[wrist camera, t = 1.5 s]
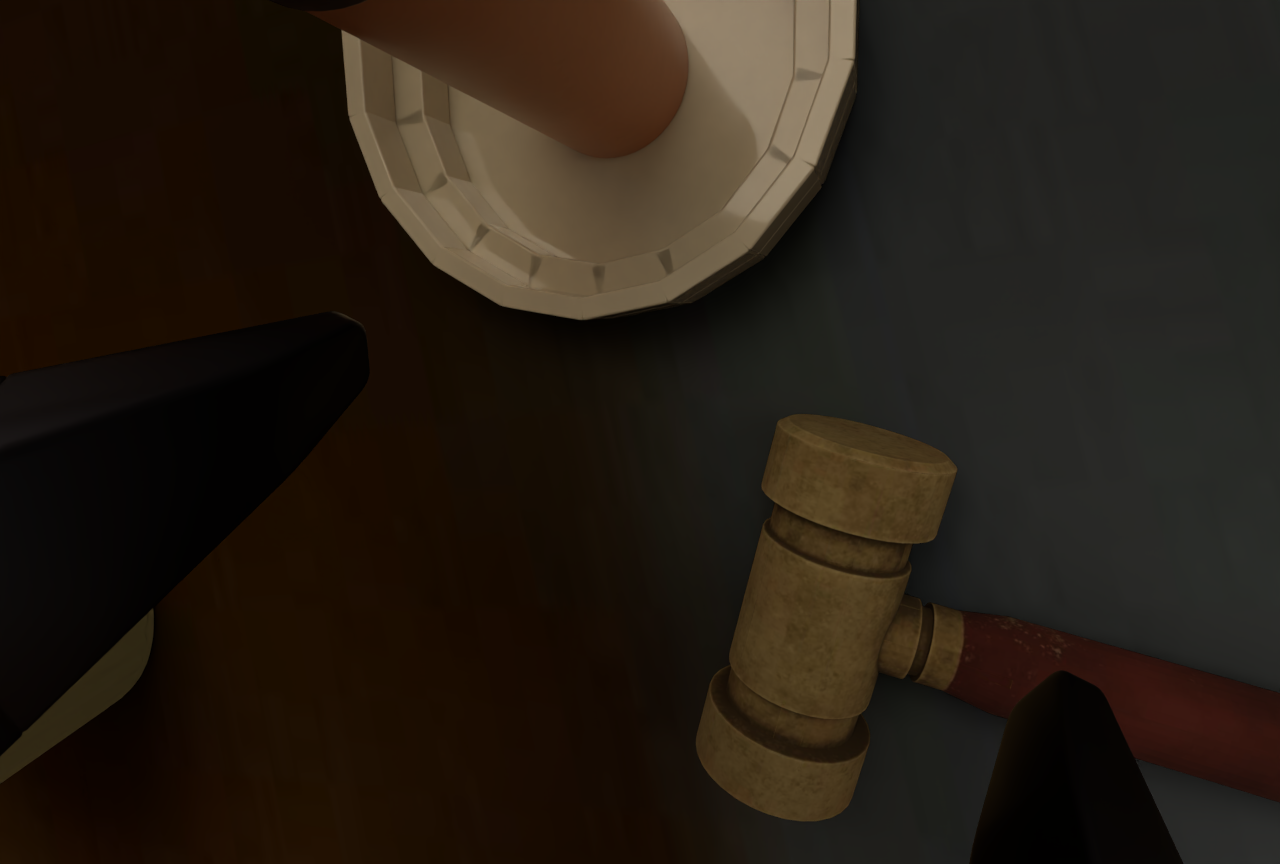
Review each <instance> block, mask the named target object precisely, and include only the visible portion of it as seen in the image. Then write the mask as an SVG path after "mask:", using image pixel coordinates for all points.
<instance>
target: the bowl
mask: <svg viewBox="0 0 1280 864" xmlns="http://www.w3.org/2000/svg"><path fill="white" fill-rule="evenodd" d="M664 2H665V3H666V5H667V6H668V8H669V9H670V10H671V12H672V13H673V15H674V16H675V18H676V20H677V21H678V23H679V25H680V27H681V30H682V32H683V35H684V37H685V41H686V46H687V51H688V60H689V63H688V79H687V85H686V89H685V93H684V96H683V99H682V102H681V104H680V107H679V109H678V111H677V113H676V114H675V116H674V118H673V119H672V121H671V122H670V124H669V125H668V126H667V128H666V129H665V130H664V131H663V132H662V133H661V134H660V135H659V136H658V137H657V138H656V139H655V140H654V141H653V142H651V143H650V144H648V145H647V146H645V147H644V148H642V149H640V150H638V151H636V152H634V153H631V154H629V155H626V156H621V157H617V158H596V157H592V156H588V155H585V154H582V153H580V152H577V151H575V150H573V149H572V148H570V147H568V146H566V145H564V144H562V143H560V142H558V141H556V140H554V139H552V138H550V137H548V136H546V135H544V134H542V133H541V132H539V131H537V130H535V129H533V128H531V127H529V126H527V125H525V124H523V123H521V122H519V121H517V120H515V119H513V118H511V117H510V116H508V115H506V114H504V113H502V112H500V111H498V110H496V109H494V108H492V107H490V106H488V105H486V104H484V103H482V102H481V101H479V100H477V99H475V98H473V97H471V96H469V95H467V94H465V93H463V92H461V91H459V90H457V89H455V88H453V87H451V86H450V85H448V84H446V83H444V82H442V81H440V80H438V79H436V78H434V77H432V76H430V75H428V74H426V73H424V72H422V71H421V70H419V69H417V68H415V67H413V66H411V65H409V64H407V63H405V62H403V61H401V60H399V59H397V58H395V57H393V56H391V55H390V54H388V53H386V52H384V51H382V50H380V49H378V48H376V47H374V46H372V45H370V44H368V43H366V42H364V41H362V40H360V39H359V38H357V37H355V36H353V35H351V34H349V33H347V32H345V31H343V30H342V42H343V54H344V67H345V79H346V92H347V104H348V115H349V117H350V122H351V125H352V127H353V130H354V132H355V135H356V138H357V140H358V143H359V146H360V148H361V151H362V153H363V156H364V159H365V161H366V164H367V166H368V169H369V172H370V174H371V177H372V180H373V182H374V185H375V187H376V190H377V193H378V195H379V197H380V198H381V201H382V202H383V203H384V205H385V206H386V207H387V208H388V210H389V211H390V212H391V213H392V215H393V216H394V217H395V218H396V220H397V221H398V222H399V223H400V225H401V226H402V227H403V228H404V230H405V231H406V232H407V233H408V235H409V236H410V237H411V238H412V239H413V241H414V242H415V243H416V244H417V246H418V247H419V248H420V249H421V251H422V252H423V253H424V254H425V256H426V257H427V258H428V259H429V261H430V262H431V263H433V265H434V266H436V267H437V268H439V269H441V270H442V271H444V272H445V273H447V274H449V275H450V276H452V277H454V278H455V279H457V280H459V281H460V282H462V283H464V284H465V285H467V286H469V287H470V288H472V289H473V290H475V291H477V292H478V293H480V294H482V295H483V296H485V297H487V298H488V299H490V300H492V301H493V302H495V303H496V304H498V305H500V306H503V307H507V308H513V309H518V310H524V311H530V312H536V313H541V314H547V315H553V316H559V317H564V318H570V319H576V320H596V319H615V318H622V317H627V316H632V315H637V314H641V313H646V312H651V311H656V310H661V309H666V308H671V307H675V306H680V305H685V304H690V303H692V302H695V301H697V300H698V299H700V298H702V297H703V296H705V295H706V294H708V293H710V292H711V291H713V290H714V289H716V288H718V287H719V286H721V285H722V284H724V283H726V282H727V281H729V280H730V279H732V278H734V277H735V276H737V275H738V274H740V273H742V272H743V271H745V270H746V269H748V268H750V267H751V266H753V265H754V264H756V263H758V262H759V261H761V260H762V259H764V256H767V255H768V254H769V252H770V251H771V250H772V249H773V247H774V246H775V245H776V244H777V242H778V241H779V240H780V239H781V237H782V236H783V235H784V234H785V232H786V231H787V230H788V229H789V227H790V226H791V225H792V224H793V223H794V221H795V220H796V219H797V218H798V216H799V215H800V214H801V213H802V211H803V210H804V209H805V208H806V206H807V205H808V204H809V203H810V201H811V200H812V199H813V198H814V196H815V195H816V194H817V193H818V191H819V190H820V189H821V188H822V184H823V183H824V182H825V179H826V176H827V174H828V171H829V168H830V166H831V163H832V160H833V158H834V155H835V152H836V149H837V147H838V144H839V141H840V139H841V136H842V133H843V130H844V128H845V125H846V122H847V120H848V117H849V114H850V112H851V109H852V106H853V103H854V101H855V98H856V92H857V88H858V50H859V13H860V0H664Z"/></svg>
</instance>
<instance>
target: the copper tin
mask: <svg viewBox="0 0 1280 864" xmlns="http://www.w3.org/2000/svg"><path fill="white" fill-rule="evenodd" d="M269 1H272V2H274V3H277V4H279V5H282V6H285V7H288V8H293V9H298V10H302V11H306V12H308V13H310V14H312V15H314V16H316V17H318V18H320V19H322V20H324V21H326V22H328V23H330V24H331V25H333V26H335V27H337V28H339V29H341V30H343V31H345V32H347V33H349V34H351V35H353V36H355V37H357V38H359V39H360V40H362V41H364V42H366V43H368V44H370V45H372V46H374V47H376V48H378V49H380V50H382V51H384V52H386V53H388V54H390V55H391V56H393V57H395V58H397V59H399V60H401V61H403V62H405V63H407V64H409V65H411V66H413V67H415V68H417V69H419V70H421V71H422V72H424V73H426V74H428V75H430V76H432V77H434V78H436V79H438V80H440V81H442V82H444V83H446V84H448V85H450V86H451V87H453V88H455V89H457V90H459V91H461V92H463V93H465V94H467V95H469V96H471V97H473V98H475V99H477V100H479V101H481V102H482V103H484V104H486V105H488V106H490V107H492V108H494V109H496V110H498V111H500V112H502V113H504V114H506V115H508V116H510V117H511V118H513V119H515V120H517V121H519V122H521V123H523V124H525V125H527V126H529V127H531V128H533V129H535V130H537V131H539V132H541V133H542V134H544V135H546V136H548V137H550V138H552V139H554V140H556V141H558V142H560V143H562V144H564V145H566V146H568V147H570V148H572V149H573V150H575V151H577V152H580V153H582V154H585V155H588V156H592V157H596V158H617V157H621V156H626V155H629V154H631V153H634V152H636V151H638V150H640V149H642V148H644V147H645V146H647V145H648V144H650V143H651V142H653V141H654V140H655V139H656V138H657V137H658V136H659V135H660V134H661V133H662V132H663V131H664V130H665V129H666V128H667V126H668V125H669V124H670V122H671V121H672V119H673V118H674V116H675V114H676V113H677V111H678V109H679V107H680V104H681V102H682V99H683V96H684V93H685V89H686V85H687V79H688V63H689V60H688V51H687V46H686V41H685V37H684V35H683V32H682V30H681V27H680V25H679V23H678V21H677V20H676V18H675V16H674V15H673V13H672V12H671V10H670V9H669V8H668V6H667V5H666V3H665V2H664V0H269Z"/></svg>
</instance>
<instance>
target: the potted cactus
mask: <svg viewBox="0 0 1280 864" xmlns="http://www.w3.org/2000/svg"><path fill="white" fill-rule="evenodd" d="M153 631H154V612H153V609H152V610H151V611H149V612H148V613H147V614H146V615H145V616H144V617H143V618H142V619H141V620H140V621H139V622H138V623H137V624H136V625H135V626H134V627H133V628H132V629H131V630H130V631H129V632H128V633H127V634H126V635H125V636H124V637H123V638H122V639H121V640H120V641H118V642H117V643H116V644H115V645H114V646H113V647H112V648H111V649H110V650H109V651H108V652H107V653H106V654H105V655H104V656H103V657H102V658H101V659H100V660H99V661H98V662H97V663H96V664H95V665H94V666H93V667H92V668H91V669H90V670H89V671H88V672H86V673H85V674H84V675H83V676H82V677H81V678H80V679H79V680H78V681H77V682H76V683H75V684H74V685H73V686H72V687H71V688H70V689H69V690H68V691H67V692H66V693H65V694H64V695H63V696H62V697H61V698H60V699H59V700H58V701H57V702H56V703H54V704H53V705H52V706H51V707H50V708H49V709H48V710H47V711H46V712H45V713H44V714H43V715H42V716H41V717H40V718H39V719H38V720H37V721H36V722H35V723H34V724H33V725H32V726H31V727H30V728H29V729H28V730H26V731H24V732H23V734H22V736H21V737H20V738H19V739H18V740H17V741H16V742H15V743H14V744H13V745H12V746H11V747H10V748H9V749H8V750H7V751H6V752H5V753H3V754H2V755H1V756H0V783H2V782H3V781H5V780H6V779H8V778H9V777H10V776H12V775H13V774H15V773H16V772H17V771H19V770H20V769H22V768H23V767H25V766H26V765H27V764H29V763H30V762H32V761H33V760H35V759H36V758H37V757H39V756H40V755H42V754H43V753H44V752H46V751H47V750H49V749H50V748H52V747H53V746H54V745H56V744H57V743H59V742H60V741H62V740H63V739H64V738H66V737H67V736H69V735H70V734H72V733H73V732H74V731H76V730H77V729H79V728H80V727H81V726H83V725H84V724H86V723H87V722H89V721H90V720H91V719H93V718H94V717H96V716H97V715H99V714H100V713H101V712H103V711H104V710H106V709H107V708H108V707H110V706H111V705H112V704H114V703H115V702H117V701H118V700H120V699H121V698H122V697H123V696H124V695H125V694H126V693H127V692H128V691H129V690H130V689H131V688H132V687H133V686H134V685H135V683H136V682H137V681H138V679H139V678H140V676H141V675H142V673H143V670H144V668H145V666H146V664H147V661H148V658H149V655H150V651H151V646H152V641H153Z"/></svg>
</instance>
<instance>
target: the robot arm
mask: <svg viewBox="0 0 1280 864" xmlns="http://www.w3.org/2000/svg"><path fill="white" fill-rule="evenodd" d="M368 377H369V359H368V348H367V338H366V331H365V329H364V327H363V325H362V324H361V323H360V322H358V321H356V320H354V319H352V318H350V317H348V316H346V315H344V314H342V313H339V312H334V311H331V312H325V313H319V314H314V315H309V316H304V317H299V318H294V319H289V320H284V321H279V322H274V323H269V324H263V325H258V326H253V327H248V328H243V329H238V330H233V331H228V332H223V333H218V334H213V335H208V336H202V337H197V338H192V339H187V340H182V341H177V342H172V343H167V344H162V345H156V346H151V347H146V348H141V349H136V350H131V351H126V352H121V353H116V354H110V355H105V356H100V357H95V358H90V359H85V360H80V361H75V362H70V363H65V364H59V365H54V366H49V367H44V368H39V369H34V370H29V371H24V372H19V373H13V374H11V375H9V376H8V377H5V376H0V756H1V755H2V754H3V753H5V752H6V751H7V750H8V749H9V748H10V747H11V746H12V745H13V744H14V743H15V742H16V741H17V740H18V739H19V738H20V737H21V736H22V734H23V732H24V731H26V730H28V729H29V728H30V727H31V726H32V725H33V724H34V723H35V722H36V721H37V720H38V719H39V718H40V717H41V716H42V715H43V714H44V713H45V712H46V711H47V710H48V709H49V708H50V707H51V706H52V705H53V704H54V703H56V702H57V701H58V700H59V699H60V698H61V697H62V696H63V695H64V694H65V693H66V692H67V691H68V690H69V689H70V688H71V687H72V686H73V685H74V684H75V683H76V682H77V681H78V680H79V679H80V678H81V677H82V676H83V675H84V674H85V673H86V672H88V671H89V670H90V669H91V668H92V667H93V666H94V665H95V664H96V663H97V662H98V661H99V660H100V659H101V658H102V657H103V656H104V655H105V654H106V653H107V652H108V651H109V650H110V649H111V648H112V647H113V646H114V645H115V644H116V643H117V642H118V641H120V640H121V639H122V638H123V637H124V636H125V635H126V634H127V633H128V632H129V631H130V630H131V629H132V628H133V627H134V626H135V625H136V624H137V623H138V622H139V621H140V620H141V619H142V618H143V617H144V616H145V615H146V614H147V613H148V612H149V611H151V610H152V609H153V608H154V607H155V606H156V605H157V604H158V603H159V602H160V601H161V600H162V599H163V598H164V597H165V596H166V595H167V594H168V593H169V592H170V591H171V590H172V589H173V588H174V587H175V586H176V585H177V584H178V583H179V582H180V581H181V580H183V579H184V578H185V577H186V576H187V575H188V574H189V573H190V572H191V571H192V570H193V569H194V568H195V567H196V566H197V565H198V564H199V563H200V562H201V561H202V560H203V559H204V558H205V557H206V556H207V555H208V554H209V553H210V552H211V551H212V550H213V549H215V548H216V547H217V546H218V545H219V544H220V543H221V542H222V541H223V540H224V539H225V538H226V537H227V536H228V535H229V534H230V533H231V532H232V531H233V530H234V529H235V528H236V527H237V526H238V525H239V524H240V523H241V522H242V521H243V520H244V519H245V518H247V517H248V516H249V515H250V514H251V513H252V512H253V511H254V510H255V509H256V508H257V507H258V506H259V505H260V504H261V503H262V502H263V501H264V500H265V499H266V498H267V497H268V496H269V495H270V494H271V493H272V492H273V491H274V490H275V489H276V488H277V487H279V486H280V485H281V484H282V483H283V482H284V481H285V480H286V478H287V477H288V476H289V475H290V474H291V473H292V472H293V471H294V470H295V469H296V468H297V467H298V466H299V465H300V464H301V462H302V461H303V460H304V459H305V458H306V457H307V456H308V454H309V453H310V452H311V451H312V450H313V448H314V447H315V446H316V445H317V444H318V442H319V441H320V440H321V439H322V438H323V436H324V435H325V434H326V433H327V432H328V430H329V429H330V428H331V427H332V426H333V424H334V423H335V422H336V421H337V420H338V418H339V417H340V416H341V415H342V414H343V412H344V411H345V410H346V409H347V408H348V406H349V405H350V404H351V403H352V402H353V400H354V399H355V398H356V397H357V396H358V394H359V393H360V392H361V391H362V389H363V388H364V386H365V385H366V383H367V380H368ZM969 864H1183V862H1182V859H1181V857H1180V855H1179V853H1178V851H1177V849H1176V847H1175V844H1174V842H1173V840H1172V838H1171V836H1170V834H1169V831H1168V829H1167V827H1166V825H1165V823H1164V821H1163V819H1162V816H1161V814H1160V812H1159V810H1158V808H1157V806H1156V804H1155V801H1154V799H1153V797H1152V795H1151V793H1150V791H1149V788H1148V786H1147V784H1146V782H1145V780H1144V778H1143V776H1142V773H1141V771H1140V769H1139V767H1138V765H1137V763H1136V761H1135V758H1134V756H1133V754H1132V752H1131V750H1130V748H1129V746H1128V743H1127V741H1126V739H1125V737H1124V735H1123V733H1122V730H1121V728H1120V726H1119V724H1118V722H1117V720H1116V718H1115V715H1114V713H1113V711H1112V709H1111V707H1110V705H1109V703H1108V700H1107V698H1106V697H1105V695H1104V693H1103V692H1102V691H1101V690H1100V689H1099V688H1098V687H1097V686H1095V685H1093V684H1091V683H1089V682H1087V681H1085V680H1083V679H1081V678H1079V677H1077V676H1075V675H1073V674H1071V673H1069V672H1067V671H1063V670H1061V671H1056V672H1054V673H1052V674H1051V675H1050V676H1048V677H1047V678H1046V679H1045V680H1044V681H1042V682H1041V683H1040V684H1039V685H1038V686H1036V687H1035V688H1034V689H1033V690H1032V691H1030V692H1029V693H1028V694H1027V695H1026V696H1025V697H1023V698H1022V699H1021V700H1020V701H1019V702H1018V703H1017V704H1016V705H1015V707H1014V708H1013V710H1012V711H1011V713H1010V716H1009V718H1008V721H1007V724H1006V727H1005V731H1004V734H1003V738H1002V742H1001V745H1000V749H999V752H998V756H997V759H996V763H995V766H994V770H993V774H992V777H991V781H990V784H989V788H988V791H987V795H986V798H985V802H984V805H983V809H982V813H981V816H980V820H979V823H978V827H977V831H976V835H975V839H974V843H973V847H972V852H971V857H970V863H969Z"/></svg>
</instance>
